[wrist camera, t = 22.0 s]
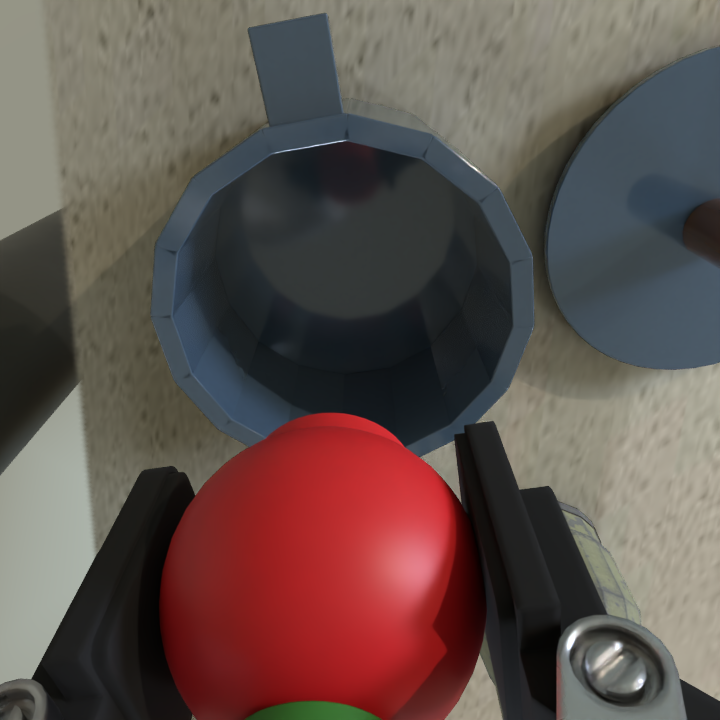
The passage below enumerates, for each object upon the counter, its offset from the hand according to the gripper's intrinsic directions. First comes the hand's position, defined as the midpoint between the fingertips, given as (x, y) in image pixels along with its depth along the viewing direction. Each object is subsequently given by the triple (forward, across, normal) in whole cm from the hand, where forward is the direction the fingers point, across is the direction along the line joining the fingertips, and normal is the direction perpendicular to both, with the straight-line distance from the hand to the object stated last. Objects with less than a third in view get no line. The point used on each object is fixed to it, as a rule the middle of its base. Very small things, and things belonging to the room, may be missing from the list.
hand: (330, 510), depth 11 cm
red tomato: (+1, 0, 0) cm, 1 cm away
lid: (+17, -16, +2) cm, 24 cm away
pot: (+18, 0, +1) cm, 18 cm away
